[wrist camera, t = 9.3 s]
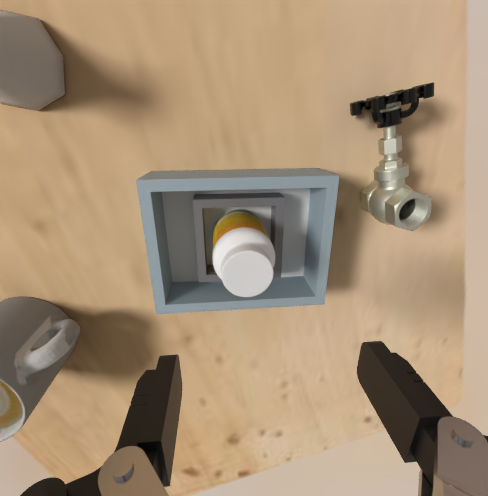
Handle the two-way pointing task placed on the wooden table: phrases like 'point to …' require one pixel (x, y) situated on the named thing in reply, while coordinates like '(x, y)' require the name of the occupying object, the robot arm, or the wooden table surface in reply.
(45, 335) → the coffee mug
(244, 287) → the supplement bottle
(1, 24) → the flask
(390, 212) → the valve
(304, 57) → the wooden table surface
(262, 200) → the walled box
